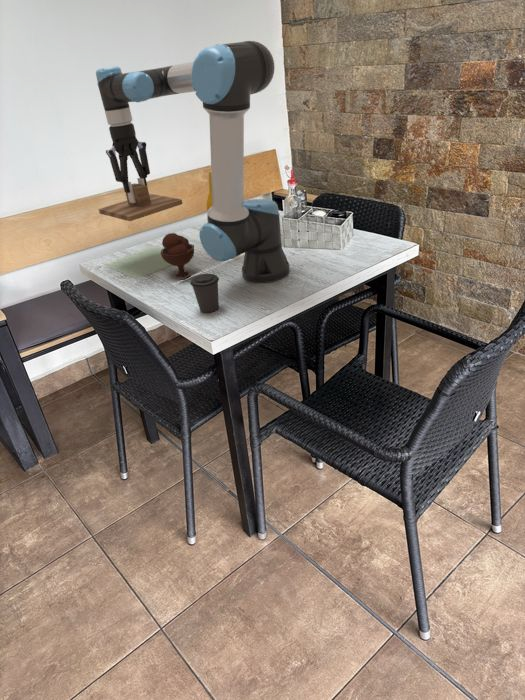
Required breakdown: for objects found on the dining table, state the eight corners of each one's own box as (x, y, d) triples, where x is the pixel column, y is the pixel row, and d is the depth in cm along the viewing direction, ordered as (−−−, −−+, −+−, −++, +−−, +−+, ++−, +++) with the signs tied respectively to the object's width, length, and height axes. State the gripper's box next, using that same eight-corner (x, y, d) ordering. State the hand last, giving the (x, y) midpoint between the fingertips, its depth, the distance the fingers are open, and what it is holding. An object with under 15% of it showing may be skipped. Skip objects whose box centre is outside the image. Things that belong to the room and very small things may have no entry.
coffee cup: (204, 318, 145) (198, 285, 140) (190, 309, 151) (183, 277, 146) (229, 308, 149) (224, 276, 144) (214, 300, 155) (208, 268, 150)
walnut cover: (182, 204, 174) (177, 180, 170) (129, 221, 163) (123, 197, 159) (150, 197, 187) (145, 176, 184) (99, 213, 176) (93, 190, 173)
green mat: (189, 259, 187) (189, 257, 186) (136, 280, 175) (136, 278, 174) (155, 248, 202) (155, 246, 201) (104, 267, 189) (104, 265, 189)
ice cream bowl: (194, 283, 168) (185, 237, 160) (161, 283, 170) (151, 239, 163) (203, 269, 177) (195, 226, 169) (172, 270, 179) (163, 227, 172)
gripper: (138, 119, 169) (154, 192, 181) (89, 129, 160) (110, 206, 172) (150, 119, 164) (166, 194, 176) (101, 129, 155) (121, 208, 166)
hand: (138, 200), depth 174 cm, fingers closed on walnut cover, 4 cm apart
